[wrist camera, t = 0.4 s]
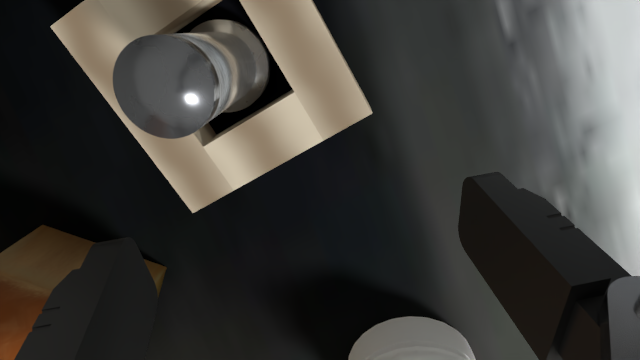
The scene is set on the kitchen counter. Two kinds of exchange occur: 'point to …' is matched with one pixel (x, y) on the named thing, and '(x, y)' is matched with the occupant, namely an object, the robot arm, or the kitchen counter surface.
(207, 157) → the frame
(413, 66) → the kitchen counter surface
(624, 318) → the robot arm
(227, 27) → the steel plug
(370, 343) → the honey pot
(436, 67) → the kitchen counter surface
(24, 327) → the bread
